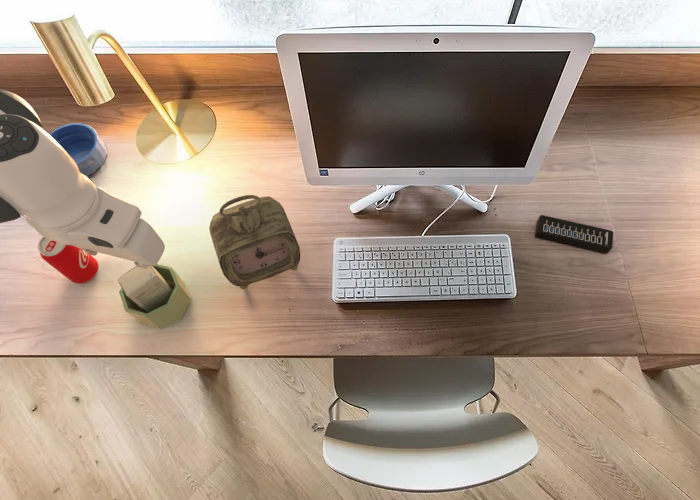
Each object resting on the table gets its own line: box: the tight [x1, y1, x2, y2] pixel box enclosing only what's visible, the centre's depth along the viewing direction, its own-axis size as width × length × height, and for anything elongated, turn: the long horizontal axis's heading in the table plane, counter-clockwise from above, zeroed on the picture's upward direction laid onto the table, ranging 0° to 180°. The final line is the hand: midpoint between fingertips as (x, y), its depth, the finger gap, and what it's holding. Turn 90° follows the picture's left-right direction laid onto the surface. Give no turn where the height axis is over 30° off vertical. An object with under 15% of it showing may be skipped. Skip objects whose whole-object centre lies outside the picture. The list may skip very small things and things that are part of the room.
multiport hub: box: [534, 214, 614, 255], centre depth 101 cm, size 4×14×2 cm, turn 73°
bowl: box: [48, 122, 108, 178], centre depth 114 cm, size 13×13×5 cm
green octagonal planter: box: [118, 263, 192, 330], centre depth 95 cm, size 10×10×7 cm
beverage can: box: [37, 236, 100, 285], centre depth 97 cm, size 6×6×12 cm
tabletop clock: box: [208, 194, 301, 290], centre depth 90 cm, size 14×9×25 cm, turn 112°
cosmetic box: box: [117, 265, 175, 314], centre depth 93 cm, size 6×4×12 cm
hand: (119, 257), depth 81 cm, fingers open, 8 cm apart
